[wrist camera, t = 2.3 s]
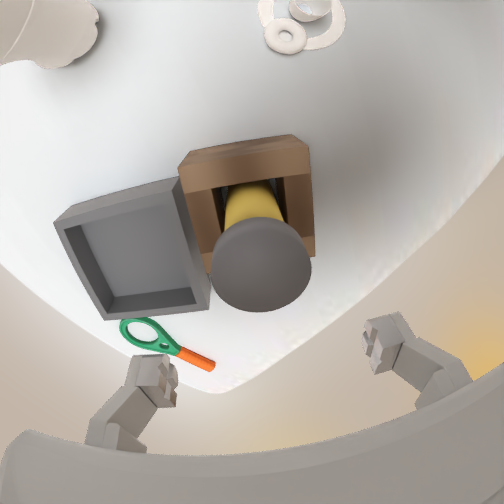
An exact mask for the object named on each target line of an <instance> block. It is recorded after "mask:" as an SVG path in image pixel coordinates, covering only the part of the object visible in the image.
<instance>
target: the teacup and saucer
mask: <svg viewBox="0 0 504 504" xmlns="http://www.w3.org/2000/svg"><path fill="white" fill-rule="evenodd" d="M274 2H275V0H259V2H258V16H259V19H260V22H261V24H262V25H263V27H264V28H265V30H264V38H265V41H266V43H267V44H268V46H269V47H270V48H272V49H273V50H275V51H276V52H279V53H282V54H294V53H297V52H299V51H301V50H317V49H322V48H325V47H327V46H330V45H331V44H333V43H334V42H336V41H337V40H338V39H339V38H340V36H341V35H342V33H343V31H344V29H345V24H346V16H345V12H344V9H343V6H342V4H341V3H340V1H339V0H290V4H289V11H290V13H291V15H292V16H293V17H294V18H295V19H297V20H299V21H302V22H310V21H314V20H317V19H319V18H321V17H322V16H324V15H326V14H327V13H329V12H330V11H331V12H332V23H331V26H330V28H329V29H328V30H327V31H326V32H325V33H324V34H322V35H320V36H317V37H312V38H307V34H306V31H305V30H304V28H303V27H302V26H301V25H300V24H299V23H297V22H296V21H294V20H292V19H288V18H279V19H275V18H274V16H273V4H274ZM298 4H304V5H306V6H308V7H309V8H310V9H311V12H312V14H308V13H306V12H304V11H303V10H301V9H300V8H299V7H298V6H297V5H298ZM285 30H286V31H289V32H290V33H291V34H290V33H288V32H286V31H285Z"/></svg>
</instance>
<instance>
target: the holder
mask: <svg viewBox="0 0 504 504" xmlns="http://www.w3.org/2000/svg"><path fill="white" fill-rule="evenodd" d="M177 169H178V173H179V177H180V181H181V184H182V188H183V192H184V196H185V200H186V204H187V207H188V211H189V215H190V218H191V222H192V226H193V229H194V233H195V236H196V240H197V243H198V247H199V250H200V254H201V257H202V260H203V264H204V267H205V270H206V274H209V273H211V264H212V255H213V249H214V246H215V244H216V242H217V240H218V238H219V237H220V236H221V234H222V233H223V232H224V231H225V209H224V204H223V200H222V195H221V190H220V187H222V186H227V185H233V184H239V183H245V182H251V181H257V180H264V179H270V178H275V181H276V189H277V197H278V205H279V210H280V212H281V215H282V218H283V221H284V222H285V223H287V224H288V225H290V226H291V227H292V228H293V229H295V231H296V232H297V233H298V234H299V236H300V237H301V239H302V241H303V243H304V246H305V248H306V250H307V253H308V255H309V257H314V256H315V234H314V214H313V197H312V183H311V170H310V159H309V148H308V146H307V145H306V144H304V143H303V142H302V141H300V140H299V139H297V138H296V137H295V136H293V135H292V134H291V135H282V136H274V137H267V138H260V139H253V140H247V141H240V142H235V143H229V144H223V145H218V146H213V147H208V148H203V149H198V150H194V151H190V152H189V153H188V154H187V156H186V157H185V158H184V160H183V161H182V162H181V164H180V165H179V166H178V168H177Z"/></svg>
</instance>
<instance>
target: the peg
mask: <svg viewBox="0 0 504 504" xmlns="http://www.w3.org/2000/svg"><path fill="white" fill-rule="evenodd" d="M310 276H311V261H310V258H309V255H308V253H307V250H306V248H305V246H304V243H303V241H302V239H301V237H300V236H299V234H298V233H297V232H296V231H295V229H293V228H292V227H291V226H290V225H288V224H287V223H285V222H284V221H283V218H282V215H281V212H280V210H279V207H278V205H277V202H276V199H275V197H274V194H273V191H272V189H271V186H270V184H269V181H268V179H264V180H257V181H251V182H245V183H239V184H233V185H227V198H226V214H225V231H224V232H223V233H222V234H221V236H220V237H219V238H218V240H217V242H216V244H215V246H214V249H213V255H212V264H211V281H212V285H213V287H214V289H215V291H216V293H217V294H218V295H219V297H220V298H221V299H222V300H223V301H225V302H226V303H227V304H229V305H231V306H232V307H235V308H237V309H240V310H243V311H248V312H268V311H273V310H276V309H279V308H282V307H284V306H286V305H288V304H290V303H291V302H293V301H294V300H295V299H296V298H298V297H299V296H300V295H301V294H302V292H303V291H304V290H305V288H306V287H307V285H308V283H309V280H310Z"/></svg>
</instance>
